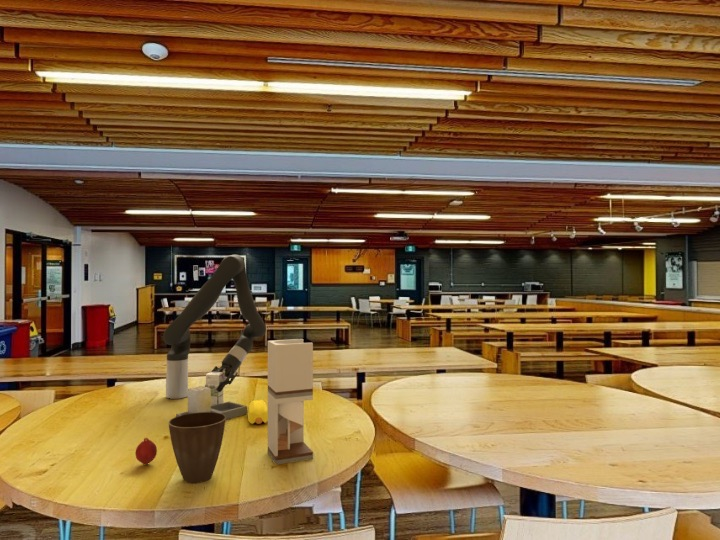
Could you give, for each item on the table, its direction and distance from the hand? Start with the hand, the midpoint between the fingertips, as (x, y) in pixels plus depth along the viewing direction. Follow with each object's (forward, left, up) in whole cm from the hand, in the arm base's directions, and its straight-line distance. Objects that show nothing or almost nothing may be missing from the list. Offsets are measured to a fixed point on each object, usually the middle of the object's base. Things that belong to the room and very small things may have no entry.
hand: (212, 389), depth 203 cm
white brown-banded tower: (+66, -18, -8) cm, 69 cm away
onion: (+38, -49, -8) cm, 62 cm away
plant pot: (+58, -45, -8) cm, 74 cm away
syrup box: (0, +1, -8) cm, 8 cm away
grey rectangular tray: (+13, -9, -8) cm, 17 cm away
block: (+13, -15, -8) cm, 21 cm away
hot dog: (+28, +1, -8) cm, 29 cm away
